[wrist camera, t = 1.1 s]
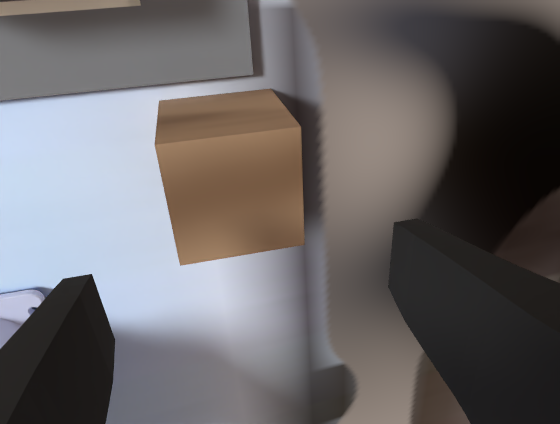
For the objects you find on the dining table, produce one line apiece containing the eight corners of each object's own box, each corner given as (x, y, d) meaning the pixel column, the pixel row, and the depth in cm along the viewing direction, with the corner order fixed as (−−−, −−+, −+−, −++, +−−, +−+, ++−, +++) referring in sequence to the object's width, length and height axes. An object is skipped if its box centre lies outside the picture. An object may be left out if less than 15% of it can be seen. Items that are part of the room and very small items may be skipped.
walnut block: (276, 185, 20) (304, 244, 16) (178, 199, 19) (180, 265, 15) (270, 88, 18) (301, 126, 14) (159, 100, 17) (154, 144, 13)
